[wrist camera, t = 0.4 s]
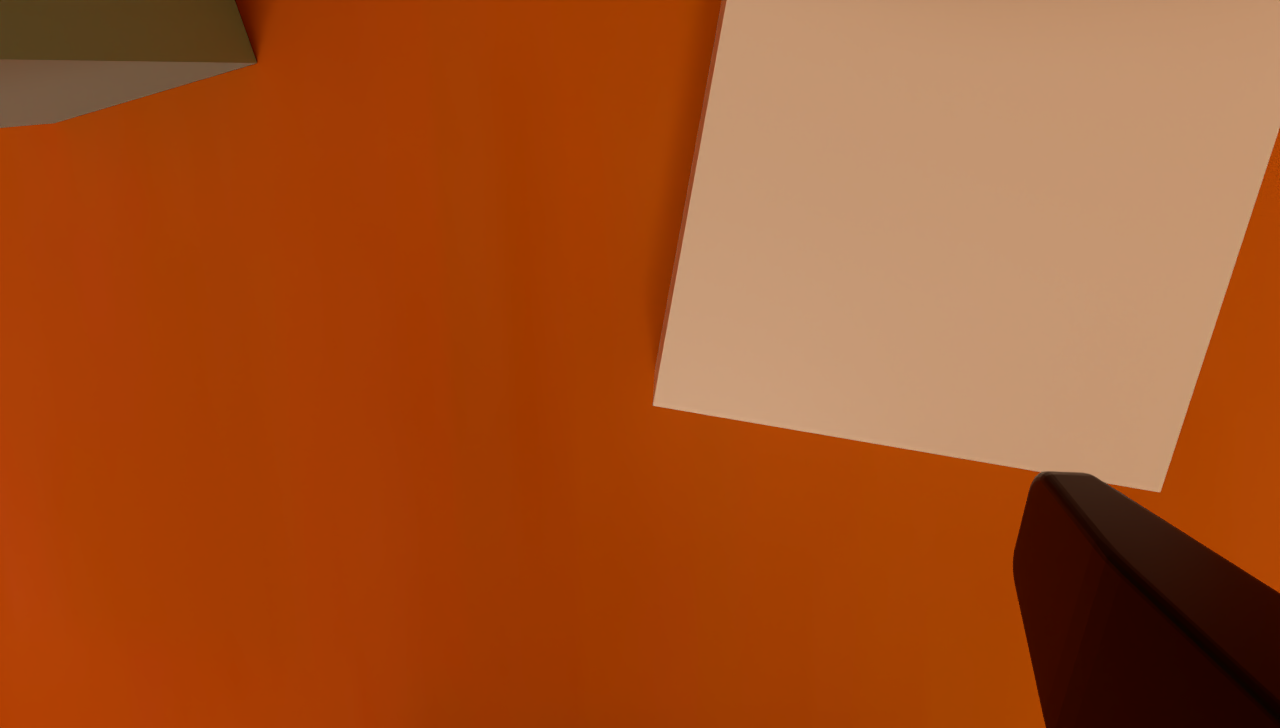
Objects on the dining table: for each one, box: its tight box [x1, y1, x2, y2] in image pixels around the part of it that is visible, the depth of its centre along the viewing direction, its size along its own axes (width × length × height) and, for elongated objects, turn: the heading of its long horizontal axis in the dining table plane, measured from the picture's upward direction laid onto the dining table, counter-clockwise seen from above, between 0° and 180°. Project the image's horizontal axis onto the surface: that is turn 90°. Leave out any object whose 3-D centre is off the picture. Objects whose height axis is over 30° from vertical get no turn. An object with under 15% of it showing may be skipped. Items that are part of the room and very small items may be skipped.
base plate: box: [653, 0, 1280, 492], centre depth 21 cm, size 10×10×3 cm
